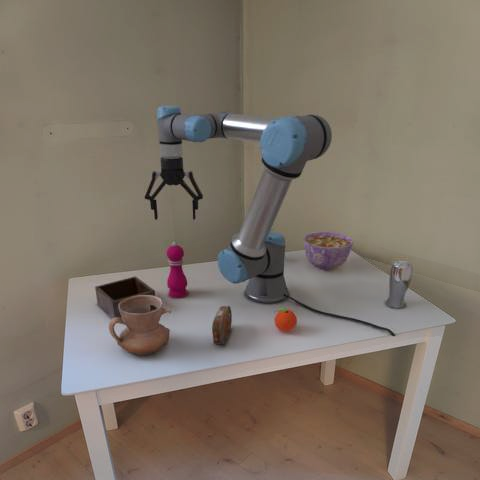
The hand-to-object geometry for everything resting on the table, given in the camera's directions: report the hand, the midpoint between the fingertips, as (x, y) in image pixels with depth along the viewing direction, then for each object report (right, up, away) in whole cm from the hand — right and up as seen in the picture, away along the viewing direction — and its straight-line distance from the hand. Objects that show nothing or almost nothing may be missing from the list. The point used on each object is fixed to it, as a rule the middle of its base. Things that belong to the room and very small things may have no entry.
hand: (175, 218), depth 163 cm
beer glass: (+78, -31, -5) cm, 84 cm away
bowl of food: (+59, -14, +26) cm, 66 cm away
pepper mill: (+1, -27, +2) cm, 27 cm away
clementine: (+37, -40, -20) cm, 58 cm away
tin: (+18, -42, -24) cm, 51 cm away
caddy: (-16, -32, -7) cm, 36 cm away
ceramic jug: (-5, -45, -29) cm, 54 cm away
